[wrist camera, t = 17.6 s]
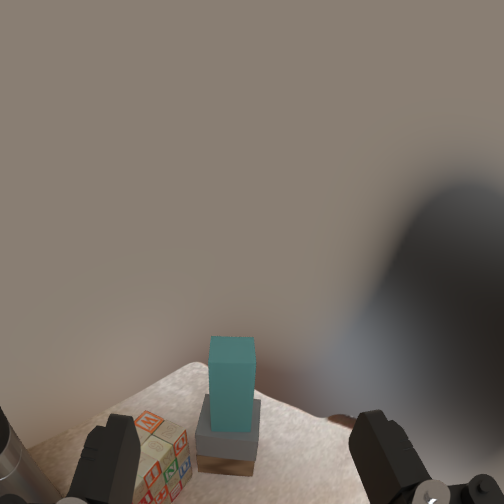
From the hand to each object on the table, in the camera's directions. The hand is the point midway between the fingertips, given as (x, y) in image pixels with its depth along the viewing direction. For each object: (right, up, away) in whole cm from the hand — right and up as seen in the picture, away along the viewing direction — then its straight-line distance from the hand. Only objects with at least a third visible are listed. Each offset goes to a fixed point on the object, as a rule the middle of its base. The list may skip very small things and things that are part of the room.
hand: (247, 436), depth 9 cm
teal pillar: (-3, -16, +28) cm, 32 cm away
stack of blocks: (-15, -29, +19) cm, 38 cm away
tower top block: (-3, -20, +30) cm, 36 cm away
